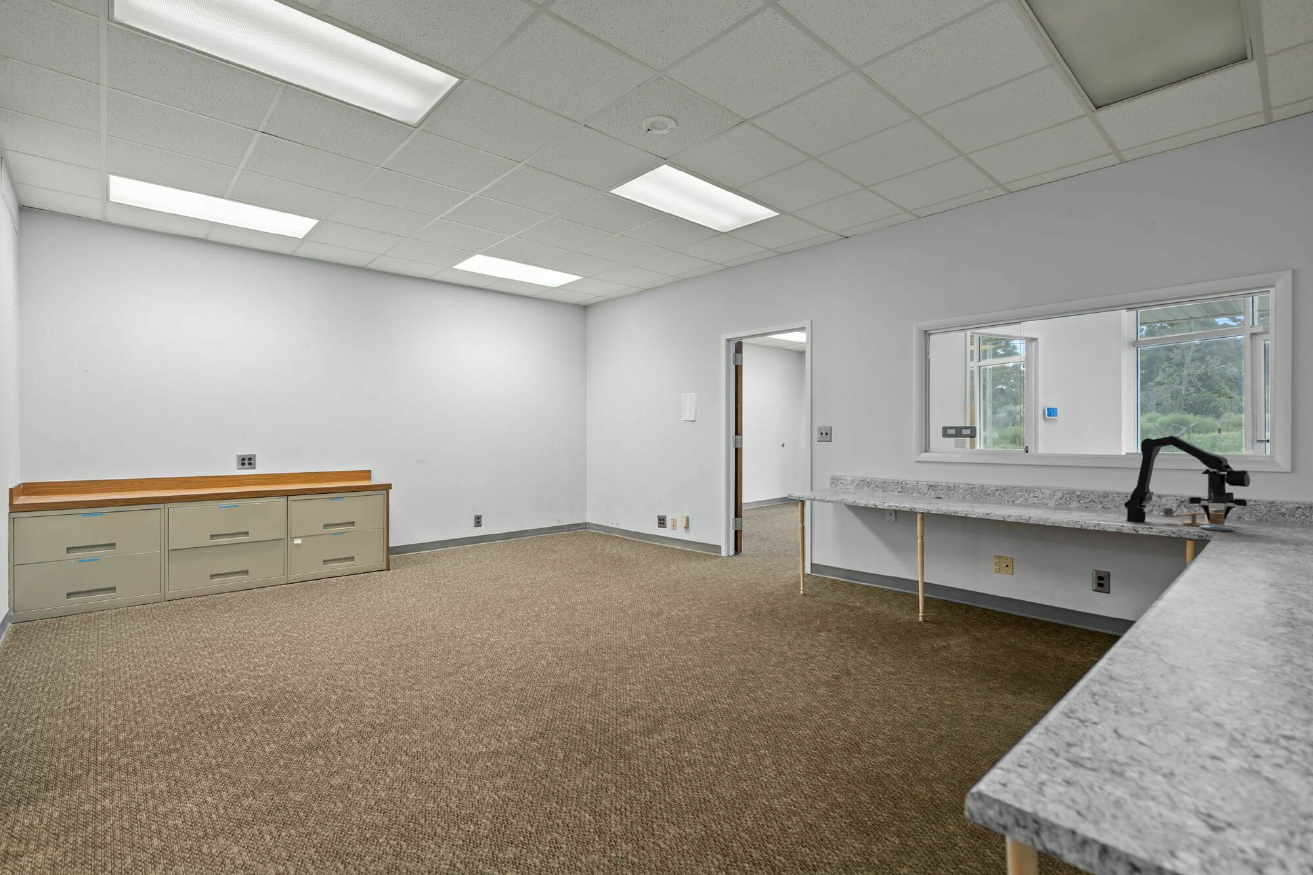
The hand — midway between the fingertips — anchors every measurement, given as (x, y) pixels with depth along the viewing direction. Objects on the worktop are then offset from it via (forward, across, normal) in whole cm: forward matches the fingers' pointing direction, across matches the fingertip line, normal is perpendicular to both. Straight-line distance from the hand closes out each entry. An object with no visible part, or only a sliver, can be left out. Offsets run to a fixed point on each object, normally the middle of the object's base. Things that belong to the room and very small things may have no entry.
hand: (1216, 521), depth 273 cm
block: (+1, 0, 0) cm, 1 cm away
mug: (+4, +4, +20) cm, 21 cm away
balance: (+4, -6, +12) cm, 14 cm away
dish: (+4, 0, 0) cm, 4 cm away
